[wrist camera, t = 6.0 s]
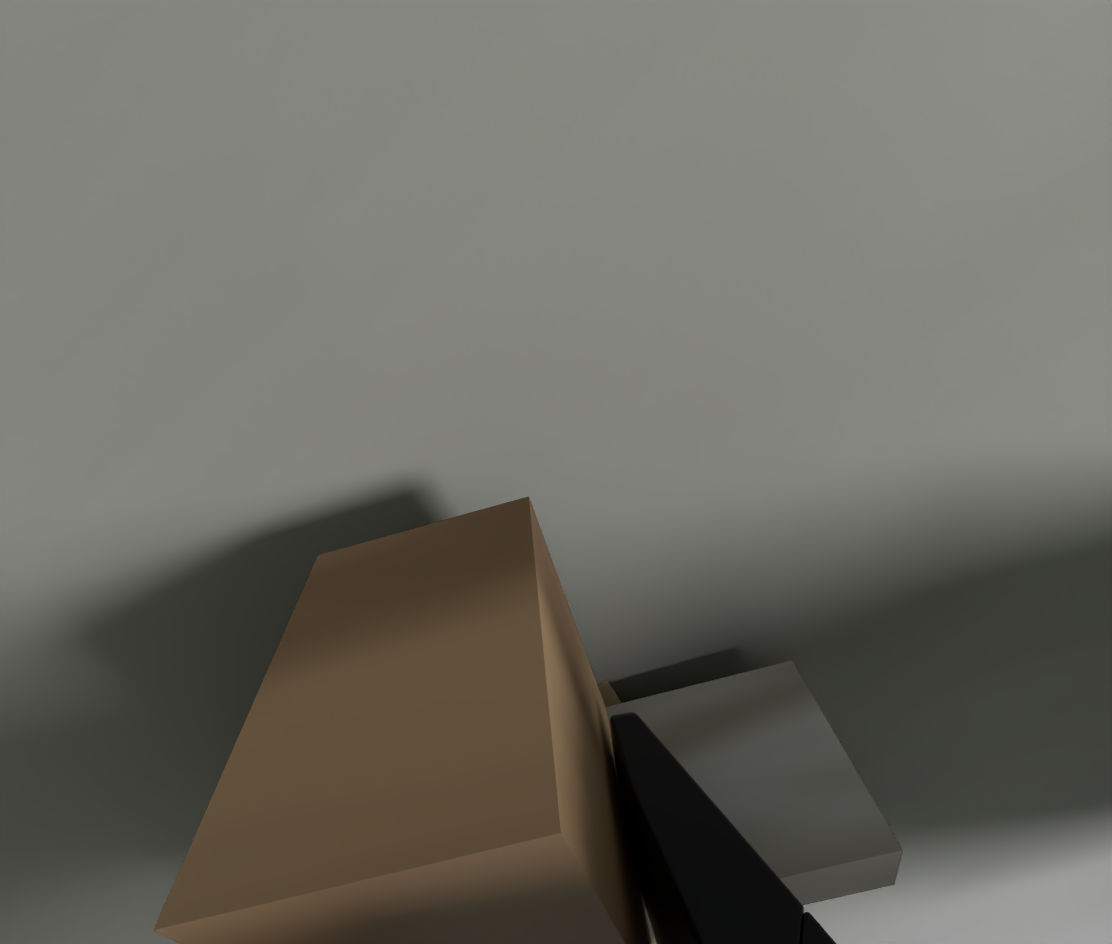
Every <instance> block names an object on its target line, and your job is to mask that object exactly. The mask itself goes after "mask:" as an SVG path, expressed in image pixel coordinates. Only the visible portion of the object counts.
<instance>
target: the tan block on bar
mask: <svg viewBox="0 0 1112 944" xmlns="http://www.w3.org/2000/svg"><path fill="white" fill-rule="evenodd" d="M627 712H634V713H636V714H637V715H638V716H639V717H640V718H641V719H642V720H643V722H644V723H645V724H646V725H647V726H648V727H649V728H650V730H651V731H652V732H653V733H654V734H655V735H656V737H657V738H658V739H659V740H660V741H661V742H662V743H663V745H664V746H665V747H666V748H667V749H668V750H669V752H670V753H671V754H672V755H673V756H674V757H675V758H676V760H677V761H678V762H679V763H680V764H681V765H682V767H683V768H684V769H685V770H686V771H687V772H688V773H689V775H690V776H691V777H692V778H693V779H694V780H695V782H696V783H697V784H698V785H699V786H700V787H701V788H702V790H703V791H704V792H705V793H706V794H707V795H708V797H709V798H710V799H711V800H712V801H713V802H714V804H715V805H716V806H717V807H718V808H719V809H720V810H721V812H722V813H723V814H724V815H725V816H726V817H727V819H728V820H729V821H730V822H731V823H732V824H733V825H734V827H735V828H736V829H737V830H738V831H739V832H740V834H741V835H742V836H743V837H744V838H745V839H746V840H747V842H748V843H749V844H750V845H751V846H752V847H753V849H754V850H755V851H756V852H757V853H758V854H759V855H760V857H761V858H762V859H763V860H764V861H765V862H766V864H767V865H768V866H769V867H770V868H771V869H772V870H773V872H774V873H775V874H776V875H777V876H778V877H779V879H780V880H781V881H782V882H783V883H784V884H785V885H786V887H787V888H788V889H789V890H790V891H791V892H792V894H793V895H794V896H795V897H796V898H797V899H798V901H799V902H800V903H801V904H802V905H805V904H810V903H814V902H818V901H823V900H827V899H832V898H836V897H841V896H845V895H850V894H854V893H858V892H863V891H867V890H872V889H876V888H881V887H885V886H890V885H894V883H895V879H896V875H897V871H898V867H899V863H900V859H901V855H902V851H903V850H902V848H901V846H900V844H899V843H898V841H897V839H896V838H895V836H894V834H893V832H892V831H891V829H890V827H889V826H888V824H887V822H886V820H885V819H884V817H883V815H882V814H881V812H880V810H879V808H878V807H877V805H876V803H875V802H874V800H873V798H872V796H871V795H870V793H869V791H868V789H867V788H866V786H865V784H864V783H863V781H862V779H861V777H860V776H859V774H858V772H857V771H856V769H855V767H854V765H853V764H852V762H851V760H850V759H849V757H848V755H847V753H846V752H845V750H844V748H843V746H842V745H841V743H840V741H839V740H838V738H837V736H836V734H835V733H834V731H833V729H832V728H831V726H830V724H829V722H828V721H827V719H826V717H825V716H824V714H823V712H822V710H821V709H820V707H819V705H818V703H817V702H816V700H815V698H814V697H813V695H812V693H811V691H810V690H809V688H808V686H807V685H806V683H805V681H804V679H803V678H802V676H801V674H800V673H799V671H798V669H797V667H796V666H795V664H794V662H793V661H792V660H791V661H787V662H783V663H779V664H775V665H771V666H767V667H763V668H759V669H755V670H752V671H748V672H744V673H740V674H736V675H732V676H728V677H724V678H720V679H716V680H712V681H708V682H704V683H700V684H696V685H692V686H688V687H684V688H680V689H676V690H672V691H668V692H664V693H660V694H656V695H652V696H648V697H644V698H640V699H636V700H633V701H629V702H625V703H621V704H617V705H613V706H609V707H605V704H604V701H603V699H602V696H601V693H600V690H599V688H598V685H597V682H596V679H595V677H594V674H593V671H592V668H591V666H590V663H589V660H588V658H587V655H586V652H585V649H584V647H583V644H582V641H581V638H580V636H579V633H578V630H577V627H576V625H575V622H574V619H573V616H572V614H571V611H570V608H569V605H568V603H567V600H566V597H565V594H564V592H563V589H562V586H561V584H560V581H559V578H558V575H557V573H556V570H555V567H554V564H553V562H552V559H551V556H550V553H549V551H548V548H547V545H546V542H545V540H544V537H543V534H542V531H541V529H540V526H539V523H538V521H537V518H536V515H535V512H534V510H533V507H532V504H531V501H530V499H529V497H525V498H522V499H518V500H514V501H511V502H507V503H504V504H500V505H497V506H493V507H489V508H486V509H482V510H479V511H475V512H471V513H468V514H464V515H461V516H457V517H453V518H450V519H446V520H443V521H439V522H435V523H432V524H428V525H425V526H421V527H417V528H414V529H410V530H407V531H403V532H399V533H396V534H392V535H389V536H385V537H381V538H378V539H374V540H371V541H367V542H363V543H360V544H356V545H353V546H349V547H345V548H342V549H338V550H335V551H331V552H327V553H324V554H320V555H318V556H317V558H316V561H315V563H314V565H313V567H312V570H311V572H310V574H309V577H308V579H307V581H306V583H305V586H304V588H303V590H302V593H301V595H300V597H299V599H298V602H297V604H296V606H295V609H294V611H293V613H292V615H291V618H290V620H289V622H288V624H287V627H286V629H285V631H284V634H283V636H282V638H281V640H280V643H279V645H278V647H277V650H276V652H275V654H274V656H273V659H272V661H271V663H270V666H269V668H268V670H267V672H266V675H265V677H264V679H263V681H262V684H261V686H260V688H259V691H258V693H257V695H256V697H255V700H254V702H253V704H252V707H251V709H250V711H249V713H248V716H247V718H246V720H245V722H244V725H243V727H242V729H241V732H240V734H239V736H238V738H237V741H236V743H235V745H234V748H233V750H232V752H231V754H230V757H229V759H228V761H227V764H226V766H225V768H224V770H223V773H222V775H221V777H220V779H219V782H218V784H217V786H216V789H215V791H214V793H213V795H212V798H211V800H210V802H209V805H208V807H207V809H206V811H205V814H204V816H203V818H202V821H201V823H200V825H199V827H198V830H197V832H196V834H195V836H194V839H193V841H192V843H191V846H190V848H189V850H188V852H187V855H186V857H185V859H184V862H183V864H182V866H181V868H180V871H179V873H178V875H177V877H176V880H175V882H174V884H173V887H172V889H171V891H170V893H169V896H168V898H167V900H166V903H165V905H164V907H163V909H162V912H161V914H160V916H159V919H158V921H157V923H156V925H155V928H154V930H153V931H155V932H157V933H160V934H162V935H164V936H166V937H168V938H170V939H172V940H174V941H176V942H178V943H180V944H652V939H654V938H655V936H654V933H653V929H652V926H651V923H650V920H649V916H648V913H647V910H646V906H645V903H644V900H643V896H642V893H641V889H640V885H639V882H638V878H637V873H636V869H635V864H634V859H633V854H632V849H631V844H630V839H629V834H628V829H627V824H626V819H625V814H624V808H623V803H622V798H621V793H620V788H619V783H618V778H617V772H616V767H615V761H614V754H613V746H612V738H611V729H610V717H611V716H612V715H615V714H621V713H627Z"/></svg>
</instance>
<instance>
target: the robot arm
mask: <svg viewBox="0 0 1112 944" xmlns="http://www.w3.org/2000/svg"><path fill="white" fill-rule="evenodd" d="M610 729H611V738H612V746H613V754H614V761H615V767H616V772H617V778H618V783H619V788H620V793H621V798H622V803H623V808H624V814H625V819H626V824H627V829H628V834H629V839H630V844H631V849H632V854H633V859H634V864H635V869H636V873H637V878H638V882H639V885H640V889H641V893H642V896H643V900H644V903H645V906H646V910H647V913H648V916H649V920H650V923H651V926H652V929H653V933H654V936H655V939H656V943H657V944H836V943H835V942H834V941H833V939H832V938H831V937H830V936H829V935H828V934H827V932H826V931H825V930H824V929H823V928H822V927H821V925H820V924H819V923H818V922H817V921H816V920H815V919H814V917H813V916H812V915H811V914H810V913H809V912H805V913H804V907H803V905H802V904H801V903H800V902H799V901H798V899H797V898H796V897H795V896H794V895H793V894H792V892H791V891H790V890H789V889H788V888H787V887H786V885H785V884H784V883H783V882H782V881H781V880H780V879H779V877H778V876H777V875H776V874H775V873H774V872H773V870H772V869H771V868H770V867H769V866H768V865H767V864H766V862H765V861H764V860H763V859H762V858H761V857H760V855H759V854H758V853H757V852H756V851H755V850H754V849H753V847H752V846H751V845H750V844H749V843H748V842H747V840H746V839H745V838H744V837H743V836H742V835H741V834H740V832H739V831H738V830H737V829H736V828H735V827H734V825H733V824H732V823H731V822H730V821H729V820H728V819H727V817H726V816H725V815H724V814H723V813H722V812H721V810H720V809H719V808H718V807H717V806H716V805H715V804H714V802H713V801H712V800H711V799H710V798H709V797H708V795H707V794H706V793H705V792H704V791H703V790H702V788H701V787H700V786H699V785H698V784H697V783H696V782H695V780H694V779H693V778H692V777H691V776H690V775H689V773H688V772H687V771H686V770H685V769H684V768H683V767H682V765H681V764H680V763H679V762H678V761H677V760H676V758H675V757H674V756H673V755H672V754H671V753H670V752H669V750H668V749H667V748H666V747H665V746H664V745H663V743H662V742H661V741H660V740H659V739H658V738H657V737H656V735H655V734H654V733H653V732H652V731H651V730H650V728H649V727H648V726H647V725H646V724H645V723H644V722H643V720H642V719H641V718H640V717H639V716H638V715H637V714H636V713H634V712H627V713H621V714H615V715H612V716H611V717H610Z"/></svg>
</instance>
